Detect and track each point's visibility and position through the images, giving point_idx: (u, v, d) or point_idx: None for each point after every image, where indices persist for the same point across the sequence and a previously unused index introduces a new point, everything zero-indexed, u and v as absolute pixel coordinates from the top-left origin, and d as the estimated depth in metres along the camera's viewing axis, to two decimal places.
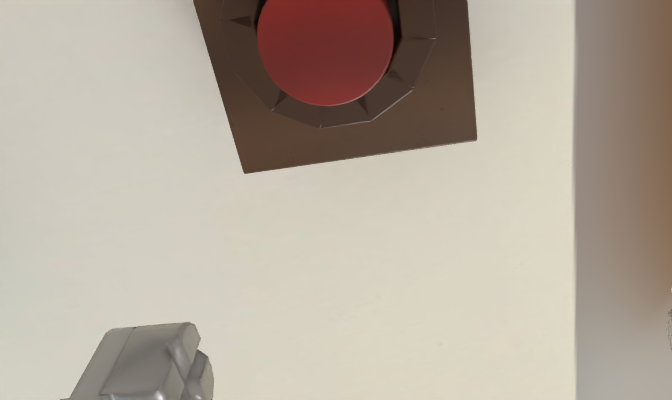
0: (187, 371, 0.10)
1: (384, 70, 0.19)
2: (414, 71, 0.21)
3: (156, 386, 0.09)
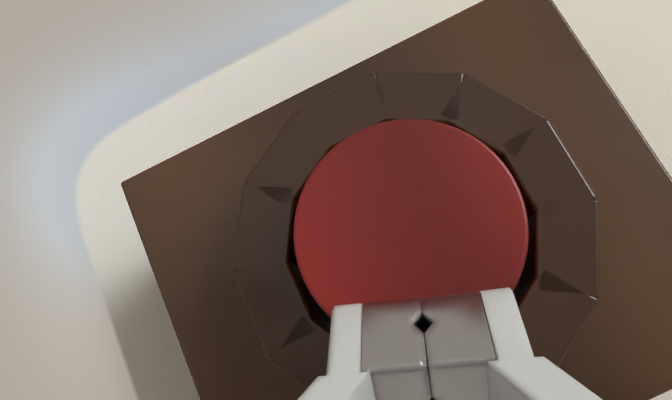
0: None
1: (423, 121, 0.12)
2: (434, 82, 0.13)
3: (423, 363, 0.08)
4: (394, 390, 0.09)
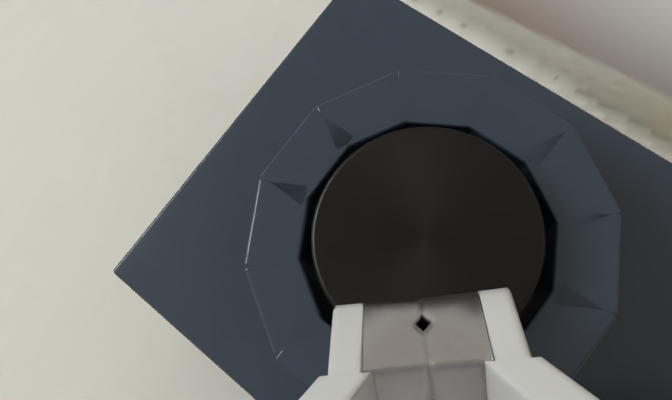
0: None
1: None
2: None
3: (424, 363, 0.08)
4: (395, 390, 0.09)
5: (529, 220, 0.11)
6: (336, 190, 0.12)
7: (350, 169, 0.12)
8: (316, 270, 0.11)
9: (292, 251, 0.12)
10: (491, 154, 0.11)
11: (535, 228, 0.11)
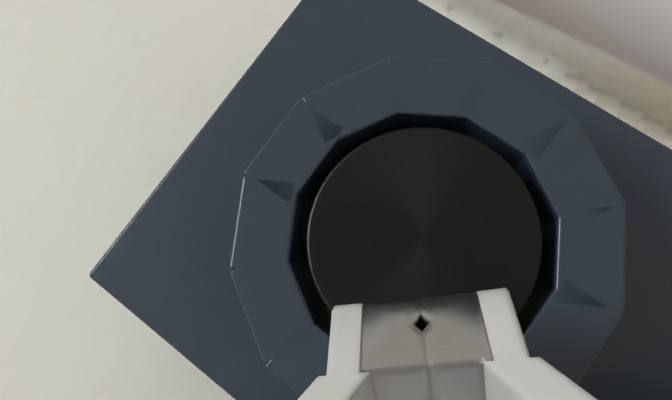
0: None
1: None
2: None
3: (423, 363, 0.08)
4: (394, 390, 0.09)
5: (526, 221, 0.11)
6: (330, 193, 0.11)
7: (344, 171, 0.11)
8: (312, 275, 0.11)
9: (280, 252, 0.11)
10: (486, 154, 0.11)
11: (532, 229, 0.11)
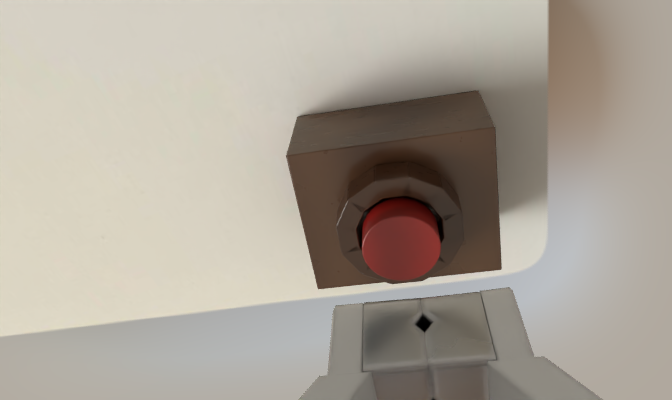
0: None
1: (383, 276, 0.34)
2: (373, 274, 0.36)
3: (424, 363, 0.08)
4: (395, 390, 0.09)
5: None
6: None
7: None
8: None
9: None
10: None
11: None
